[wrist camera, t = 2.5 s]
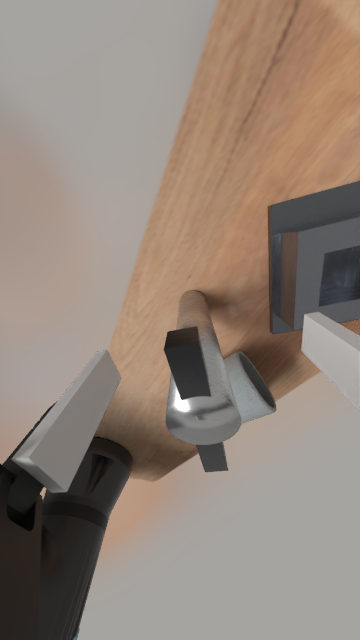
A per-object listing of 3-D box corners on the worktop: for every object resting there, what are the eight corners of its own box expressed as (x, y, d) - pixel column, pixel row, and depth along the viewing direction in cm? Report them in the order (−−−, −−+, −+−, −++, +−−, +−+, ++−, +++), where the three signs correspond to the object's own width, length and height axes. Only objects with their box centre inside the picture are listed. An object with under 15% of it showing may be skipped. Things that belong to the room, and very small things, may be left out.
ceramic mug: (186, 370, 25) (187, 420, 19) (231, 339, 23) (252, 384, 16) (228, 406, 29) (242, 460, 22) (272, 383, 26) (303, 435, 19)
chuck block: (270, 331, 22) (287, 351, 18) (267, 206, 16) (293, 196, 12) (355, 316, 21) (394, 333, 17) (386, 174, 15) (455, 151, 11)
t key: (210, 328, 22) (248, 468, 9) (186, 333, 23) (186, 473, 9) (199, 266, 19) (230, 337, 5) (171, 273, 19) (135, 354, 6)
